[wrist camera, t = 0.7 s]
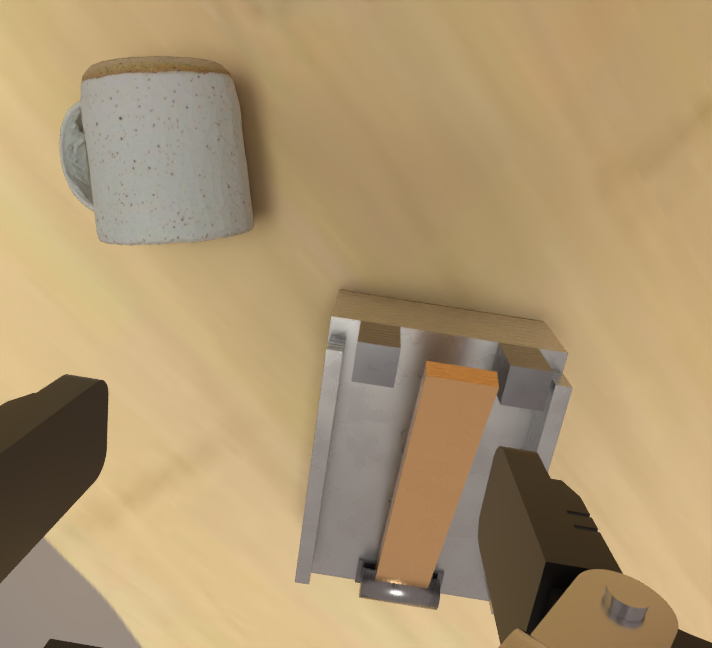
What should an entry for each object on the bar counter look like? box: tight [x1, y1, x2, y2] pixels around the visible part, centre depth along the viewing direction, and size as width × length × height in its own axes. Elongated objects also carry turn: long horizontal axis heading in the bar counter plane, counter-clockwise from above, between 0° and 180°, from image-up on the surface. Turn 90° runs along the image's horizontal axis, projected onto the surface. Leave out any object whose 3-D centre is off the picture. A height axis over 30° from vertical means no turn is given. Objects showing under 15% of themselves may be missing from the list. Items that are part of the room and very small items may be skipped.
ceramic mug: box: [60, 56, 254, 245], centre depth 29 cm, size 11×8×8 cm
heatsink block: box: [295, 290, 572, 614], centre depth 33 cm, size 16×12×8 cm
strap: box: [359, 361, 499, 610], centre depth 29 cm, size 17×4×2 cm, turn 172°
